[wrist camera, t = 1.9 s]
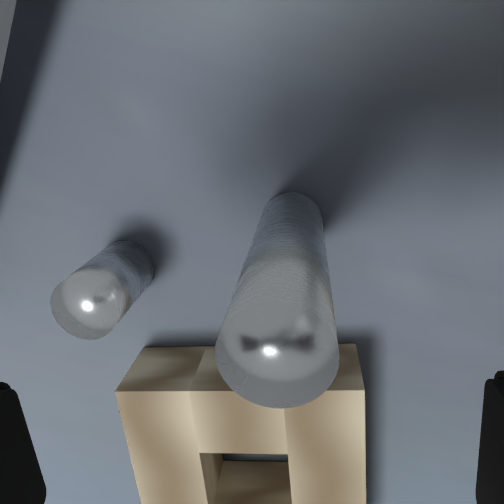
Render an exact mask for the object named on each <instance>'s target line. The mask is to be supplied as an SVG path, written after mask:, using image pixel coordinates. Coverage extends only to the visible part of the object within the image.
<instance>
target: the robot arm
mask: <svg viewBox="0 0 504 504" xmlns="http://www.w3.org/2000/svg"><path fill="white" fill-rule="evenodd" d="M45 498H46V486H45V483H44V480H43V476H42V473H41V470H40V467H39V463H38V460H37V457H36V453H35V450H34V447H33V444H32V440H31V437H30V434H29V431H28V427H27V424H26V421H25V418H24V414H23V411H22V408H21V405H20V401H19V398H18V395H17V393H16V391H14V390H13V389H11V388H10V386H9V385H8V384H7V383H4V382H0V504H44V502H45ZM476 501H477V504H504V371H498V372H497V373H496V374H495V377H494V379H488V380H487V381H486V383H485V389H484V400H483V412H482V423H481V435H480V447H479V458H478V470H477V482H476Z"/></svg>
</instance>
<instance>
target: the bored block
mask: <svg viewBox="0 0 504 504" xmlns="http://www.w3.org/2000/svg"><path fill="white" fill-rule="evenodd" d="M338 348H339V367H338V371H337V374H336V377H335V378H334V380H333V382H332V384H331V385H330V386H329V388H328V389H327V390H326V391H325V392H324V393H323V394H322V395H320V396H319V397H318V398H316V399H315V400H313V401H311V402H309V403H307V404H304V405H301V406H298V407H293V408H283V409H279V408H269V407H264V406H260V405H257V404H254V403H252V402H249V401H248V400H246V399H244V398H242V397H241V396H239V395H238V394H237V393H235V392H234V391H233V390H232V389H231V388H230V387H229V386H228V385H227V383H226V382H225V381H224V379H223V378H222V376H221V374H220V372H219V369H218V367H217V363H216V358H215V346H201V347H149V348H143V349H142V351H141V352H140V354H139V355H138V357H137V358H136V360H135V361H134V363H133V365H132V366H131V368H130V369H129V371H128V372H127V374H126V375H125V377H124V379H123V380H122V382H121V383H120V385H119V386H118V388H117V389H116V391H115V393H116V397H117V402H118V406H119V410H120V415H121V419H122V423H123V427H124V432H125V436H126V440H127V444H128V449H129V453H130V457H131V461H132V466H133V470H134V474H135V478H136V483H137V487H138V491H139V495H140V500H141V504H366V447H365V389H364V383H363V378H362V373H361V368H360V363H359V358H358V353H357V347H356V343H355V344H338ZM222 453H239V454H288V462H264V461H223V454H222Z"/></svg>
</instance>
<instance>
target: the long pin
mask: <svg viewBox="0 0 504 504" xmlns="http://www.w3.org/2000/svg"><path fill="white" fill-rule="evenodd" d="M215 358H216V363H217V367H218V369H219V372H220V374H221V376H222V378H223V379H224V381H225V382H226V383H227V385H228V386H229V387H230V388H231V389H232V390H233V391H234V392H235V393H237V394H238V395H239V396H241V397H242V398H244V399H246V400H248V401H249V402H252V403H254V404H257V405H260V406H264V407H269V408H279V409H283V408H293V407H298V406H301V405H304V404H307V403H309V402H311V401H313V400H315V399H316V398H318V397H319V396H320V395H322V394H323V393H324V392H325V391H326V390H327V389H328V388H329V386H330V385H331V384H332V382H333V380H334V378H335V377H336V374H337V371H338V367H339V348H338V340H337V332H336V324H335V317H334V309H333V301H332V293H331V285H330V277H329V269H328V261H327V254H326V246H325V238H324V230H323V222H322V215H321V212H320V209H319V207H318V206H317V204H316V203H315V202H314V201H313V200H312V199H311V198H310V197H308V196H306V195H304V194H302V193H298V192H285V193H282V194H279V195H277V196H275V197H274V198H273V199H271V200H270V201H269V202H268V204H267V205H266V207H265V208H264V211H263V213H262V216H261V219H260V222H259V224H258V227H257V230H256V233H255V235H254V238H253V241H252V244H251V246H250V249H249V252H248V255H247V257H246V260H245V263H244V266H243V268H242V271H241V274H240V277H239V279H238V282H237V285H236V288H235V290H234V293H233V296H232V299H231V301H230V304H229V307H228V310H227V312H226V315H225V318H224V321H223V323H222V326H221V329H220V332H219V334H218V337H217V341H216V346H215Z"/></svg>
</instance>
